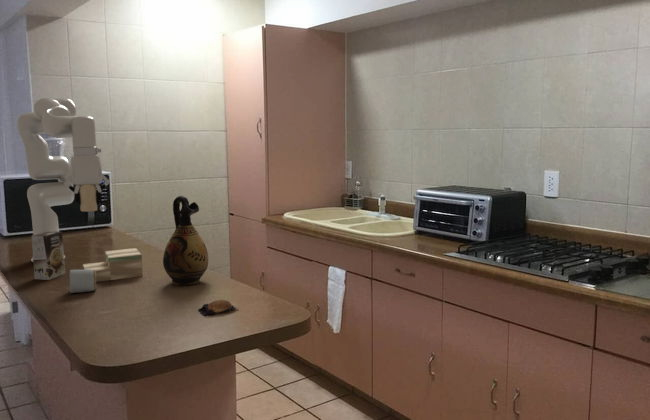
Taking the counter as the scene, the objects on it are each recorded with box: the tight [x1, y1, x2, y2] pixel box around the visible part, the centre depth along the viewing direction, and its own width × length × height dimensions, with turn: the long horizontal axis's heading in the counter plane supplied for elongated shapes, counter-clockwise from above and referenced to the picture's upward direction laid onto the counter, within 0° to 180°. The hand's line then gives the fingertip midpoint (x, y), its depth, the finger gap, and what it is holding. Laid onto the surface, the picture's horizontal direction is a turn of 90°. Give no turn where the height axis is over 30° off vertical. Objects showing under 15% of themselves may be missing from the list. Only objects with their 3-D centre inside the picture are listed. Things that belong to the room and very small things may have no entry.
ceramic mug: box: [69, 269, 97, 294], centre depth 190 cm, size 11×8×8 cm
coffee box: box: [31, 231, 66, 281], centre depth 207 cm, size 9×6×16 cm
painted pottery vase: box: [162, 195, 209, 287], centre depth 197 cm, size 17×15×30 cm
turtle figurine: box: [198, 299, 239, 317], centre depth 168 cm, size 11×8×4 cm
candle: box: [78, 184, 98, 213], centre depth 200 cm, size 6×6×10 cm
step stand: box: [82, 247, 144, 283], centre depth 209 cm, size 13×19×8 cm
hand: (88, 203), depth 201 cm, fingers closed on candle, 5 cm apart
